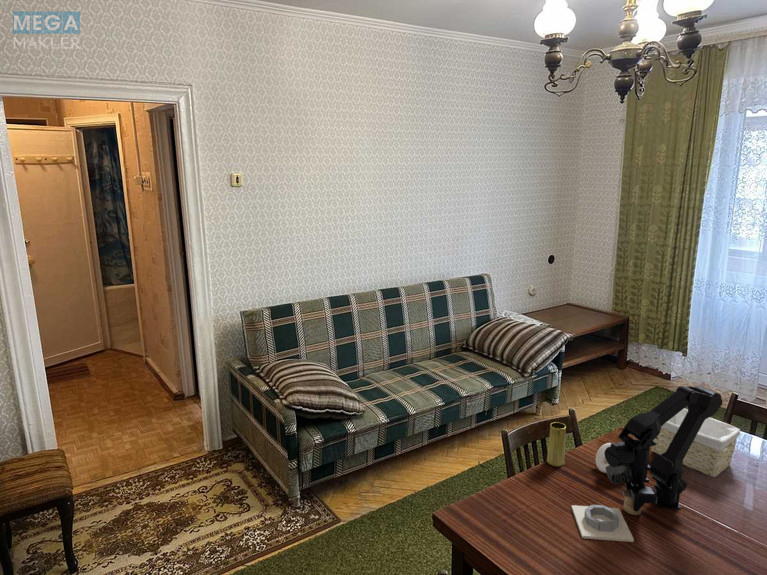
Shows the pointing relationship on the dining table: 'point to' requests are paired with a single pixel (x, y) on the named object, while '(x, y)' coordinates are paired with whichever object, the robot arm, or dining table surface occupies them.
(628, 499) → the rotary grip knob
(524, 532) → the dining table surface
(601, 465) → the white curved piece
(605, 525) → the socket board
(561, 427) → the vase
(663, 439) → the storage basket
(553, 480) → the dining table surface
